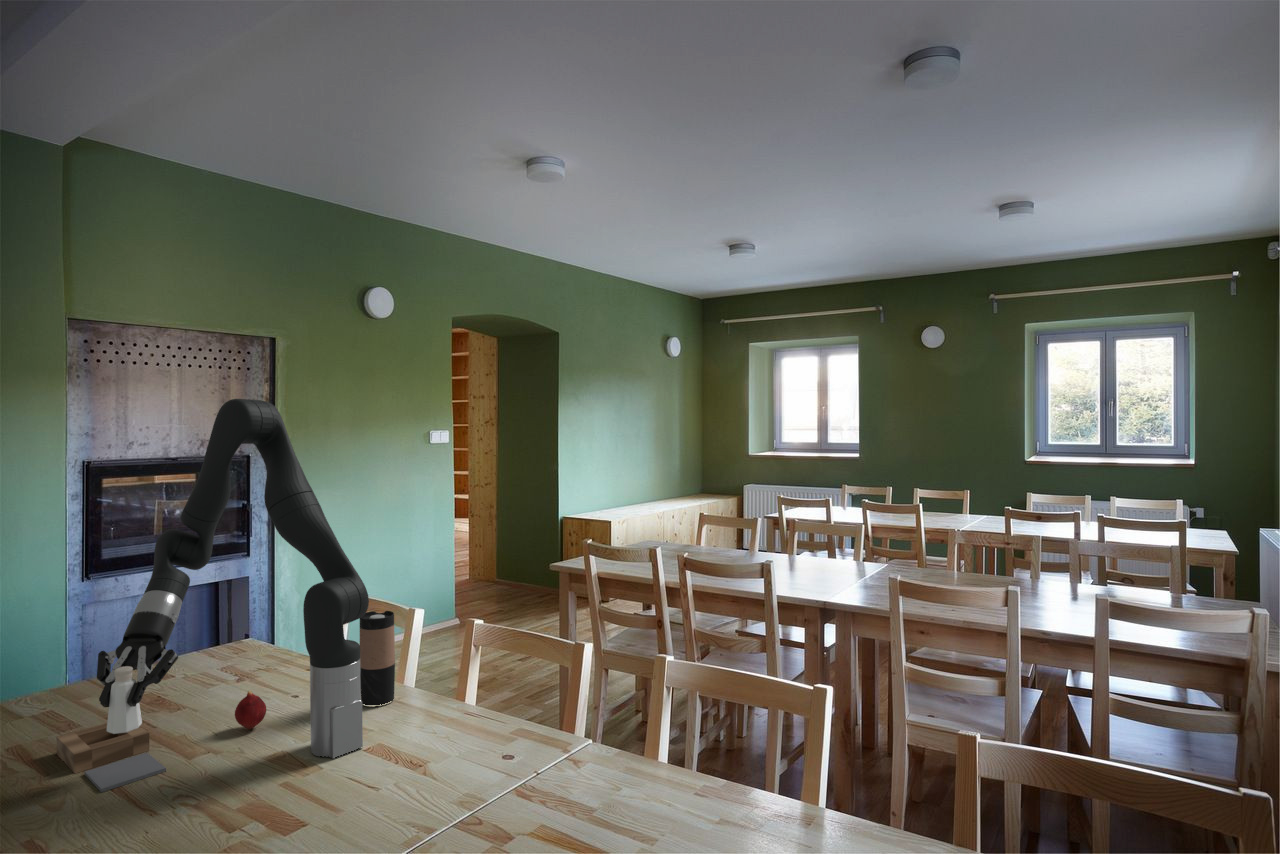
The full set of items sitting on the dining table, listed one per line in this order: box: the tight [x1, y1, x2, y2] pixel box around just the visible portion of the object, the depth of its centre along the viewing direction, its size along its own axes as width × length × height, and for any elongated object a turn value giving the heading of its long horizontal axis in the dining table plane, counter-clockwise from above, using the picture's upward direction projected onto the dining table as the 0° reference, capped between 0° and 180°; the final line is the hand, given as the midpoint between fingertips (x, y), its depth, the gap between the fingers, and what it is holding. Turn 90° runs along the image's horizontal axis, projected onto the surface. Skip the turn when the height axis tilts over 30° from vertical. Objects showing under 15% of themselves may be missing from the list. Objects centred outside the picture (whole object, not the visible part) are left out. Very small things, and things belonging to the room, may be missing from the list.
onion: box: [234, 690, 267, 730], centre depth 156 cm, size 6×6×8 cm
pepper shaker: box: [106, 666, 143, 734], centre depth 137 cm, size 5×5×11 cm
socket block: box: [56, 722, 150, 774], centre depth 145 cm, size 12×12×4 cm
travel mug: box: [359, 610, 396, 705], centre depth 171 cm, size 8×8×20 cm
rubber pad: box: [83, 752, 167, 793], centre depth 137 cm, size 10×10×1 cm
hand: (117, 704), depth 135 cm, fingers closed on pepper shaker, 4 cm apart
